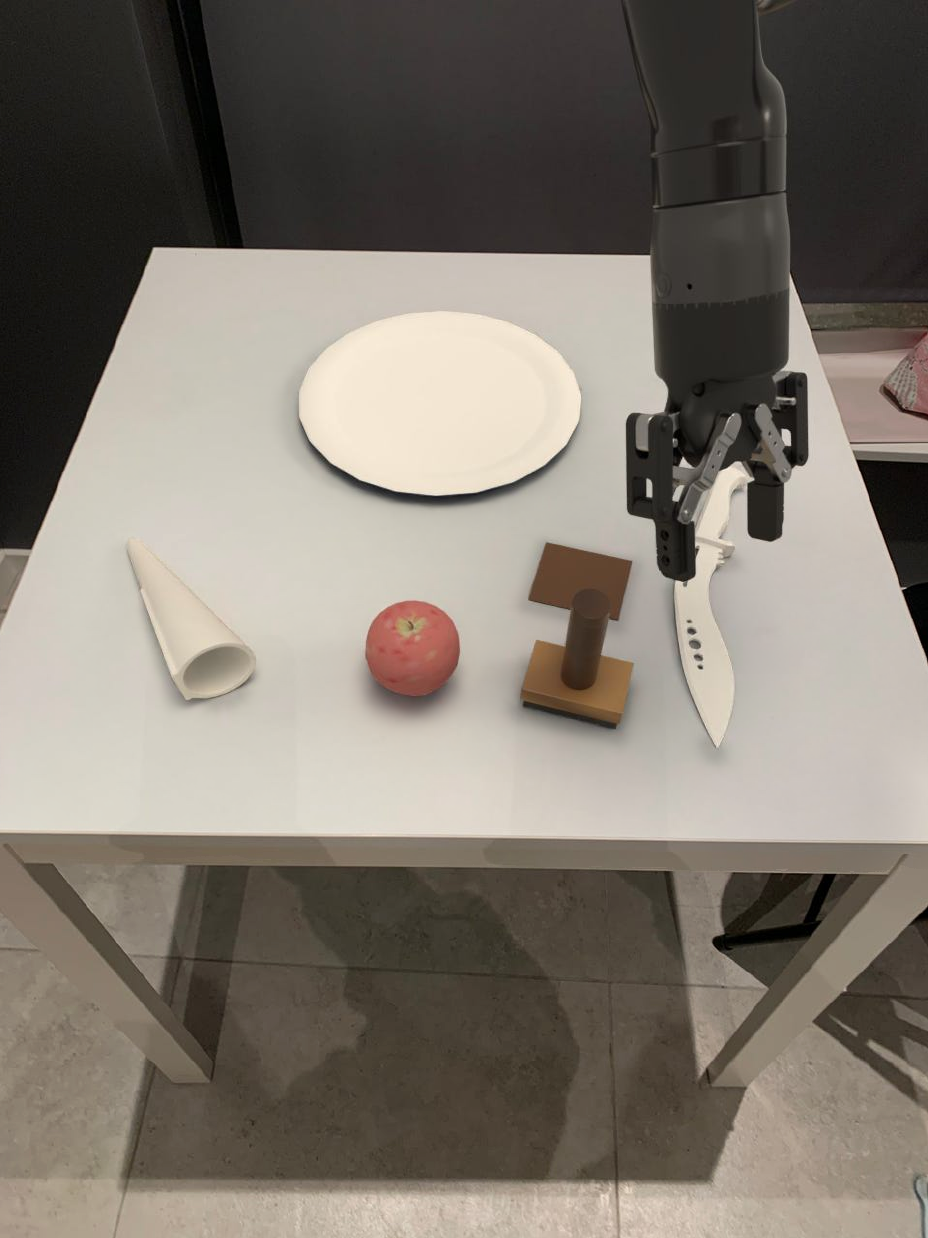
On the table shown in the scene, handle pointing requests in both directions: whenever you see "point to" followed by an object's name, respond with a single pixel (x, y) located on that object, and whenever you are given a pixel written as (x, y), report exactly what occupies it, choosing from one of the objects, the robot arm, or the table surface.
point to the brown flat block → (579, 576)
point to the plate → (439, 403)
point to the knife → (708, 611)
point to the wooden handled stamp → (579, 668)
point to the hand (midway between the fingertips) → (723, 557)
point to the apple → (412, 648)
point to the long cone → (189, 631)
